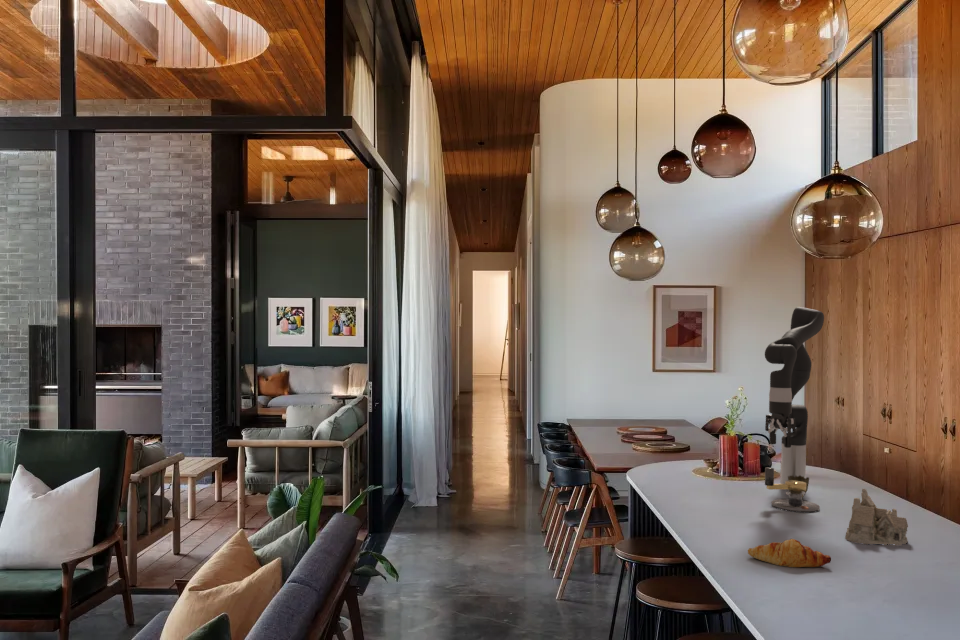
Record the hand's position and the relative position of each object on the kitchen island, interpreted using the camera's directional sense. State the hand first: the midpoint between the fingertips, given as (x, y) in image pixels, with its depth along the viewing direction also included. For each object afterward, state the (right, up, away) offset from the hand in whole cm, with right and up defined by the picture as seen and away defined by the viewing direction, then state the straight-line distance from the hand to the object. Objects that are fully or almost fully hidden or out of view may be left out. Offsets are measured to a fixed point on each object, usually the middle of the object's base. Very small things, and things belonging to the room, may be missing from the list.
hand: (780, 445), depth 271 cm
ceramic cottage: (+14, -23, -39) cm, 47 cm away
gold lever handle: (+3, -16, +2) cm, 16 cm away
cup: (+14, -23, +17) cm, 32 cm away
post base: (+6, -22, +2) cm, 23 cm away
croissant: (-22, -22, -62) cm, 70 cm away
